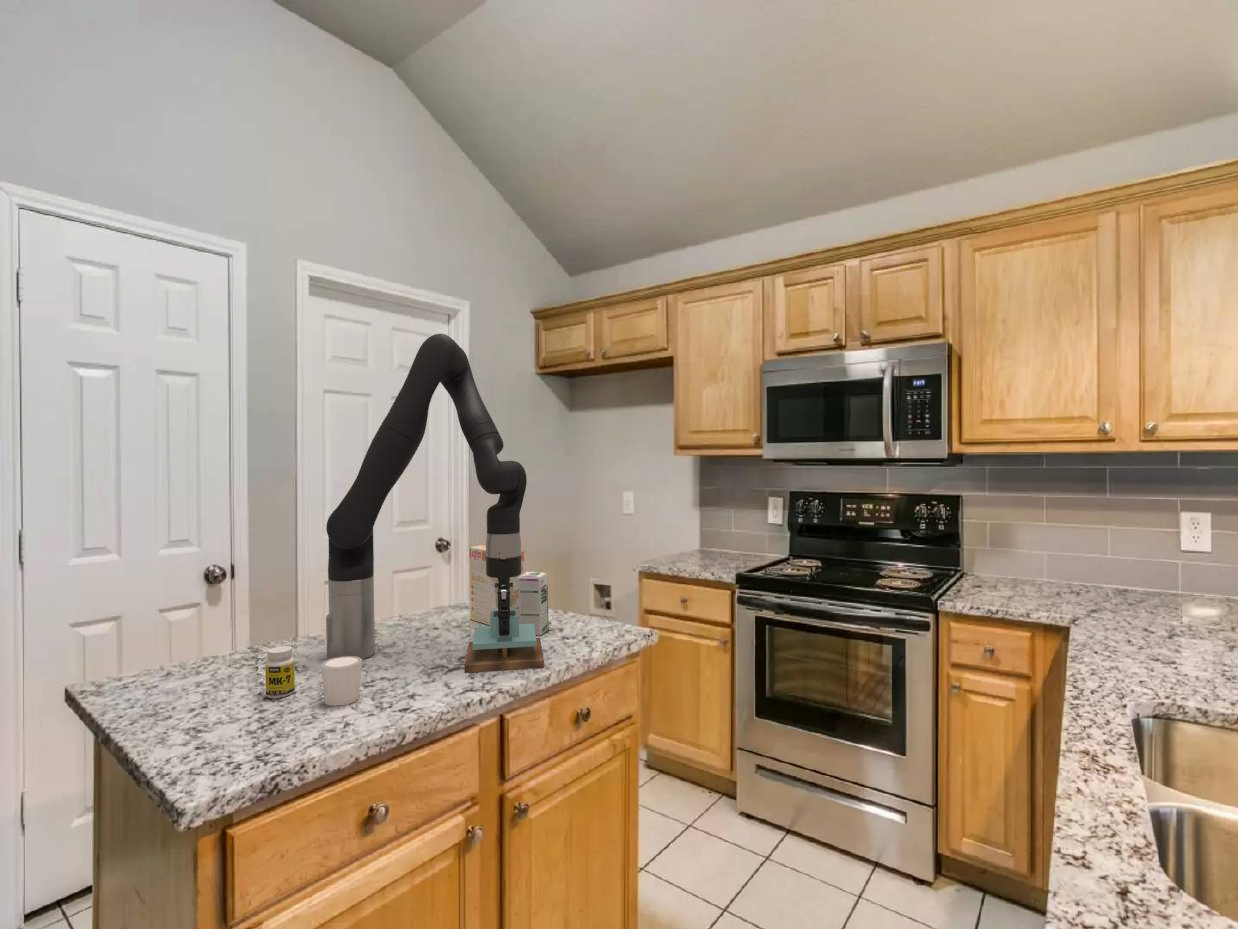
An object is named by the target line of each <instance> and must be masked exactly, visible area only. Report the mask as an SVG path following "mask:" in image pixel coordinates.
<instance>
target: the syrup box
mask: <svg viewBox="0 0 1238 929" xmlns="http://www.w3.org/2000/svg"><path fill="white" fill-rule="evenodd" d="M548 586H549V585H548V573H547V572H546V571H545V572H544V571H526V572H524V574H523V575H521V576H519V577H518V591H519V624H534V629H535V635H537V636H538V637H541V635H542V636H543V635H544V634H545V633H546V632H547V631H548V630H549V628H550V626H549V591H548V588H549V587H548ZM537 636H536V637H537Z"/></svg>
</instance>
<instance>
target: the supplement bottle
mask: <svg viewBox="0 0 1238 929" xmlns="http://www.w3.org/2000/svg"><path fill="white" fill-rule="evenodd" d="M264 666H265V696H266V698H269V699H282V698H286V697H289V696H291V695H292V693H293V694H294V693H295V692H296V691H295V690H296V689H295V688H296V687H295V676H296V675H295V659H294V657H293V649H292V647H291V646H288V645H286V646H285V645H283V646H281V645H280V646H276V647H272V648H269V649H268V650H267V660H266V661H265V665H264ZM288 695H289V696H288ZM285 696H286V697H285ZM281 697H282V698H281Z"/></svg>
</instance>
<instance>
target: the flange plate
mask: <svg viewBox="0 0 1238 929" xmlns="http://www.w3.org/2000/svg"><path fill="white" fill-rule="evenodd" d="M501 611H507V612H508V610H500V612H501ZM497 613H498V610H496V611H491V613H490V625H481V626H475V627H474V632H473V633H474V634H473V637H472V638H473V640H472V642H473V644H472V645H473V650H480V649H497V648H514V647H531V646H536V638H537V636H536V635H535V629H534V624H519V612H518V609H516V610H510V613H511V616H510V618H509V629H510V633H509V635H507V636H500V635H499V618H498V616H497Z"/></svg>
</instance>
